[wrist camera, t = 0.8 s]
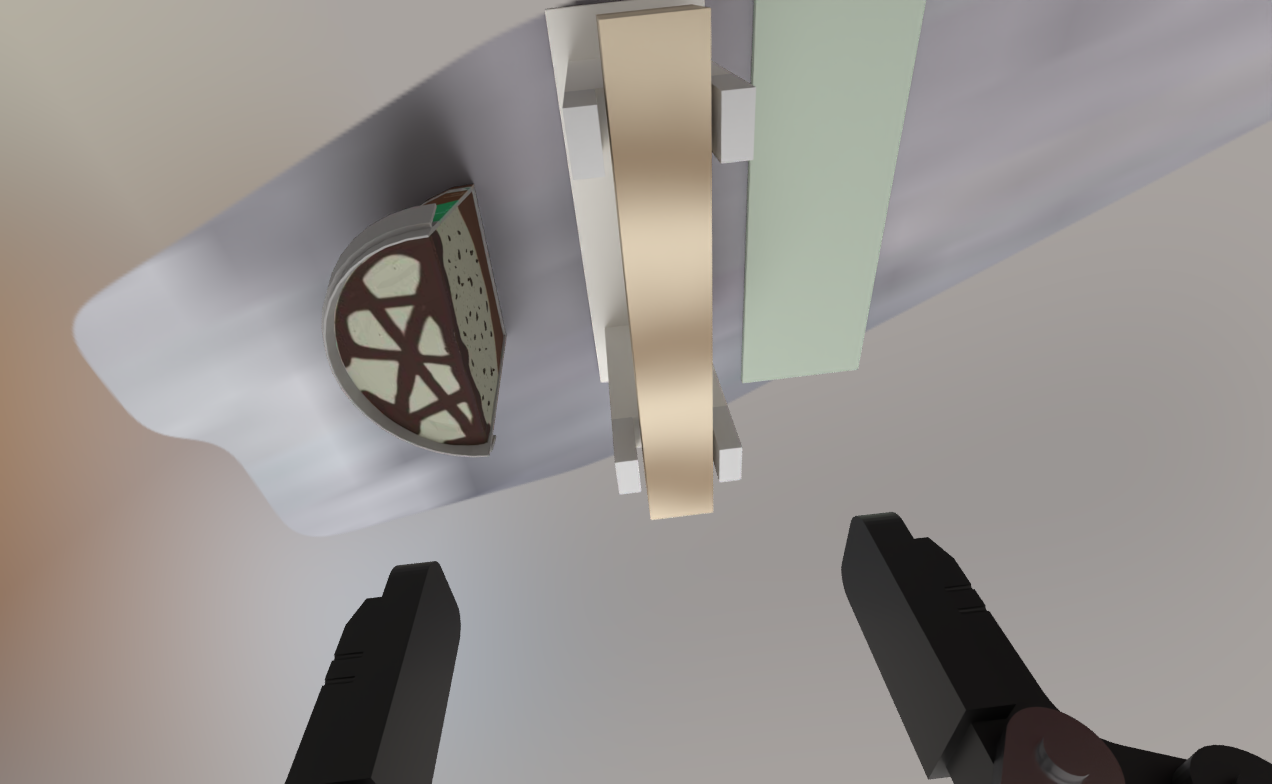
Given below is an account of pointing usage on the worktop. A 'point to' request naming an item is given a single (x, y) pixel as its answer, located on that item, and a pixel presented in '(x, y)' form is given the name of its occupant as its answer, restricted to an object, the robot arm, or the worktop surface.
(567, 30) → the rack
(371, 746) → the robot arm
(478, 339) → the food container
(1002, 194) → the worktop surface
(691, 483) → the rail
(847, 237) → the mat
